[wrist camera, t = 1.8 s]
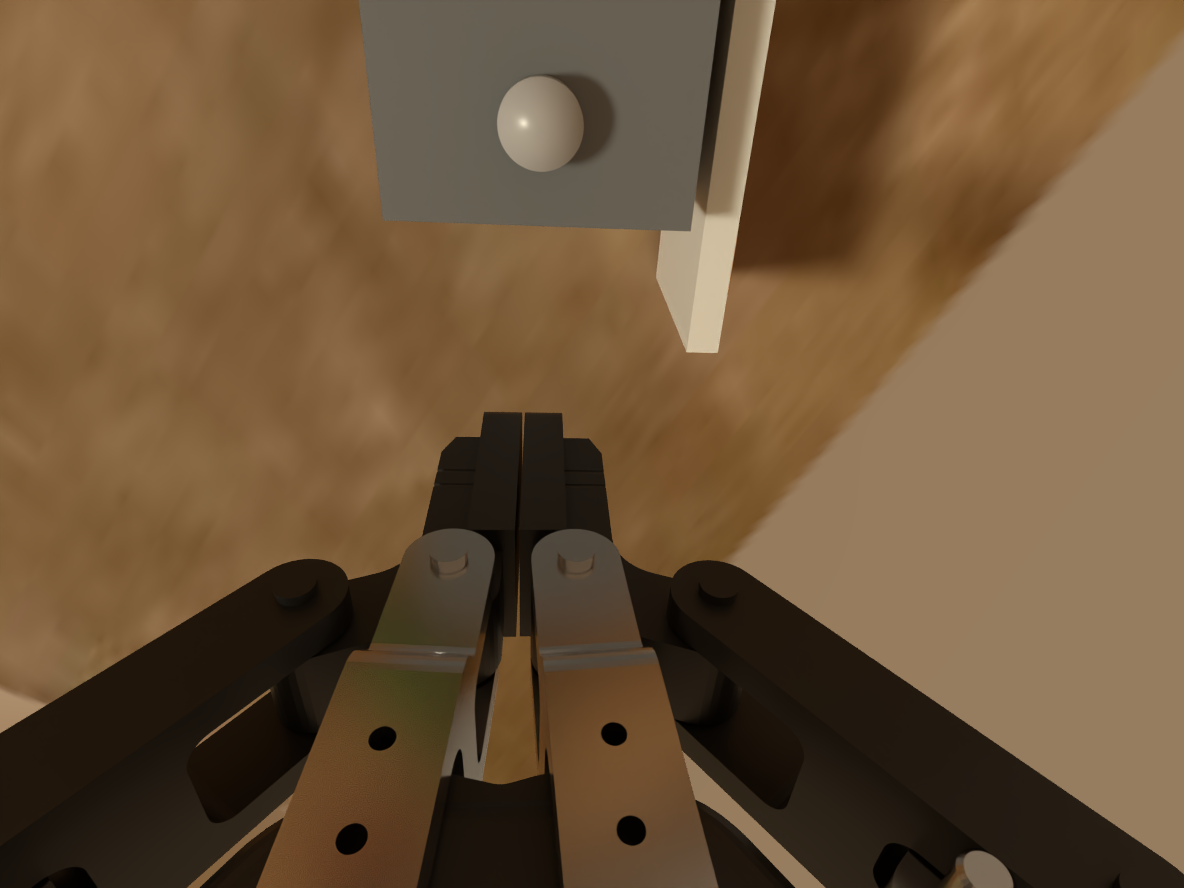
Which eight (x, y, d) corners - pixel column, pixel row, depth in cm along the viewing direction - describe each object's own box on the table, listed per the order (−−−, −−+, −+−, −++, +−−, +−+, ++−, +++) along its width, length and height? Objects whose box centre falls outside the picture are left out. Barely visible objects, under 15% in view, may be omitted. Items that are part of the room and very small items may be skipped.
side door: (716, -326, 19) (796, -475, 13) (777, -319, 19) (884, -464, 13) (653, 277, 28) (683, 352, 22) (695, 278, 28) (735, 353, 22)
